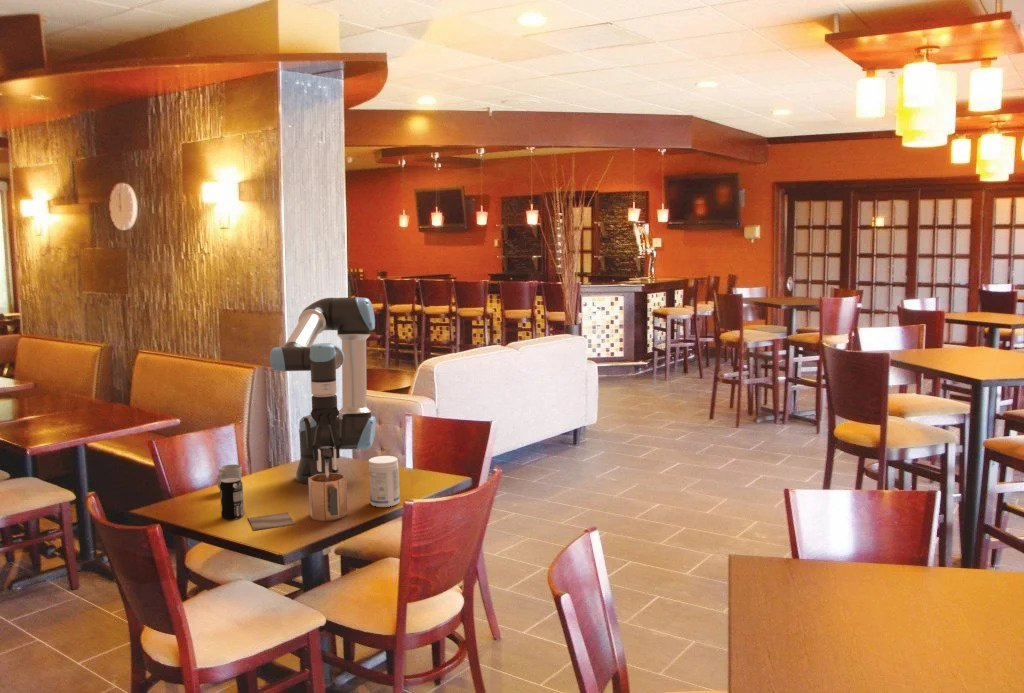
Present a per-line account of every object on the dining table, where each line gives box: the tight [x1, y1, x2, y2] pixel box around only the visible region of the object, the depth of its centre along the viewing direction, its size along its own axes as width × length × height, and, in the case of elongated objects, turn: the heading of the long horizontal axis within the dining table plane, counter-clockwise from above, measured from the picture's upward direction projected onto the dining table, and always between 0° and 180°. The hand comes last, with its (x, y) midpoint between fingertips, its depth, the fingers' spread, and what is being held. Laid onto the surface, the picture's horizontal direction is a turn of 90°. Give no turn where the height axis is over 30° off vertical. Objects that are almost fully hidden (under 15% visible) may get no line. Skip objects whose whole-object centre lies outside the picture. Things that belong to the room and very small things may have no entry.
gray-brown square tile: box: [247, 512, 296, 532], centre depth 255 cm, size 12×12×1 cm
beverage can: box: [219, 477, 245, 521], centre depth 259 cm, size 7×7×12 cm
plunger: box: [320, 446, 333, 482], centre depth 259 cm, size 8×8×17 cm
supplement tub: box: [367, 455, 401, 508], centre depth 271 cm, size 10×10×15 cm
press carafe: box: [307, 472, 349, 522], centre depth 258 cm, size 14×11×12 cm
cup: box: [216, 463, 243, 490], centre depth 285 cm, size 8×10×8 cm
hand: (327, 469), depth 259 cm, fingers closed on plunger, 4 cm apart
